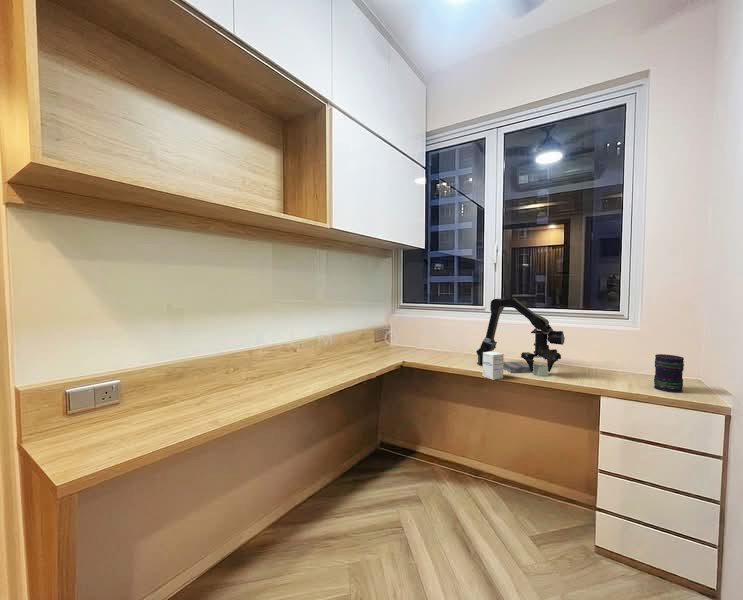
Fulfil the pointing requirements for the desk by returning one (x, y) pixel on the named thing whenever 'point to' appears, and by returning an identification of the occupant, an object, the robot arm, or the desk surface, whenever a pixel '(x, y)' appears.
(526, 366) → the charcoal base
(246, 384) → the desk surface
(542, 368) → the sage cube
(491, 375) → the supplement box
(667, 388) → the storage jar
